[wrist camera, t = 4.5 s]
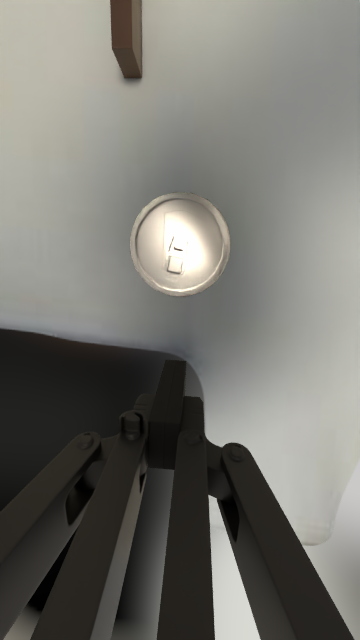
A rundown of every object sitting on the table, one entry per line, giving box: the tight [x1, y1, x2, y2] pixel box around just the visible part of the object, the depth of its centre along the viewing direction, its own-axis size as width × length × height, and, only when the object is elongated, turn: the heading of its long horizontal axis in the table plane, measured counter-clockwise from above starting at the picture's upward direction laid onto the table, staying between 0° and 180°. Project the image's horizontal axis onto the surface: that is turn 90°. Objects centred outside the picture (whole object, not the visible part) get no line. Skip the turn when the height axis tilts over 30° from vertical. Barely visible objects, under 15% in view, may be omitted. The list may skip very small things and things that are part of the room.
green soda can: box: [130, 192, 231, 297], centre depth 17 cm, size 5×5×12 cm
